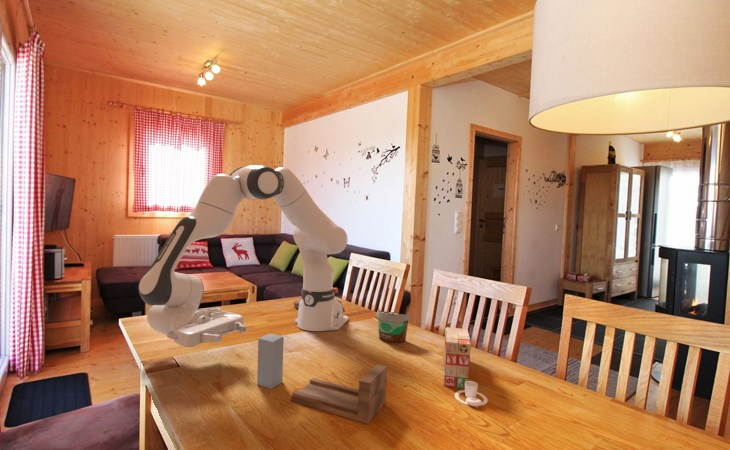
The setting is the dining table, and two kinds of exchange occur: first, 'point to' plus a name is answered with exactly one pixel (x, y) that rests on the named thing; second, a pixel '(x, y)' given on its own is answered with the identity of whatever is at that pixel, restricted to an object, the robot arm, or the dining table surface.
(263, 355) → the block
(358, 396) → the holder
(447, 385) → the stack of blocks
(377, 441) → the dining table surface
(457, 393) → the teacup and saucer
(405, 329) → the food container
